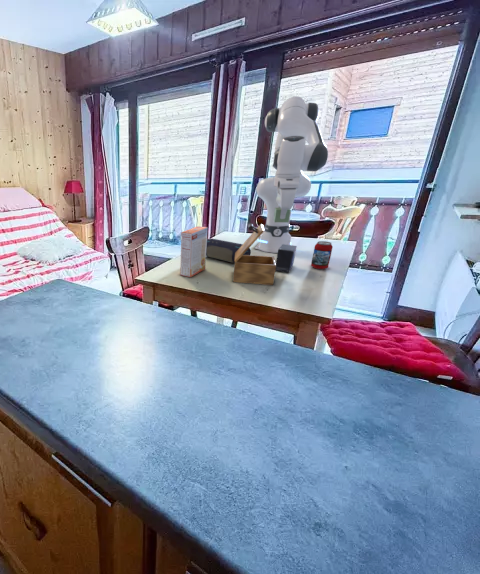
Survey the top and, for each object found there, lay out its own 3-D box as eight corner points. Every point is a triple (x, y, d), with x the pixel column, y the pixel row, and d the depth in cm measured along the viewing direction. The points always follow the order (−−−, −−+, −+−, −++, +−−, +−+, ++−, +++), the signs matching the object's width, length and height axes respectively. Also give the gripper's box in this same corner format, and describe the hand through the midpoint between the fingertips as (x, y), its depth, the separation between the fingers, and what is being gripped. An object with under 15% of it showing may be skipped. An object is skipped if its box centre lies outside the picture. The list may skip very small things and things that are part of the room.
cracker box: (194, 267, 162) (196, 225, 154) (205, 269, 158) (208, 227, 150) (178, 275, 153) (180, 231, 146) (190, 277, 149) (192, 233, 141)
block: (273, 219, 136) (275, 207, 134) (287, 220, 134) (289, 207, 132) (274, 222, 132) (276, 209, 130) (288, 222, 130) (290, 209, 128)
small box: (289, 273, 148) (293, 250, 144) (273, 270, 152) (277, 249, 148) (293, 266, 156) (297, 245, 152) (278, 264, 159) (281, 243, 155)
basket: (270, 275, 147) (273, 256, 144) (273, 285, 136) (276, 265, 133) (233, 272, 153) (235, 254, 149) (232, 281, 142) (235, 262, 139)
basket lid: (262, 224, 141) (252, 217, 141) (264, 230, 130) (253, 223, 130) (236, 254, 149) (227, 247, 150) (235, 262, 139) (225, 255, 139)
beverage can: (309, 268, 152) (314, 243, 148) (312, 264, 157) (317, 240, 152) (326, 271, 148) (331, 245, 143) (329, 266, 152) (334, 242, 148)
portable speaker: (197, 257, 177) (199, 239, 174) (209, 253, 183) (210, 235, 179) (240, 267, 158) (242, 247, 155) (251, 263, 164) (254, 243, 160)
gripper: (275, 179, 137) (270, 212, 142) (280, 184, 120) (274, 221, 125) (292, 179, 135) (287, 212, 140) (300, 183, 117) (293, 222, 122)
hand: (281, 217), depth 132 cm, fingers closed on block, 5 cm apart
